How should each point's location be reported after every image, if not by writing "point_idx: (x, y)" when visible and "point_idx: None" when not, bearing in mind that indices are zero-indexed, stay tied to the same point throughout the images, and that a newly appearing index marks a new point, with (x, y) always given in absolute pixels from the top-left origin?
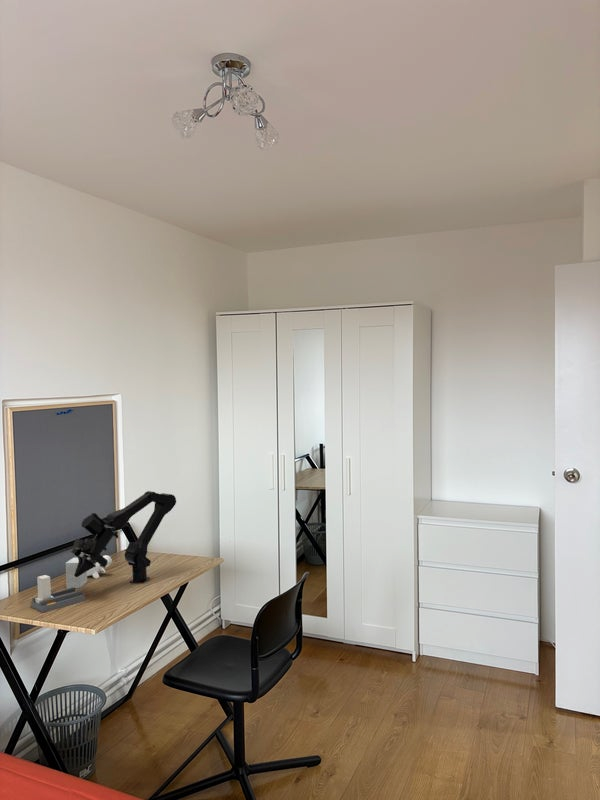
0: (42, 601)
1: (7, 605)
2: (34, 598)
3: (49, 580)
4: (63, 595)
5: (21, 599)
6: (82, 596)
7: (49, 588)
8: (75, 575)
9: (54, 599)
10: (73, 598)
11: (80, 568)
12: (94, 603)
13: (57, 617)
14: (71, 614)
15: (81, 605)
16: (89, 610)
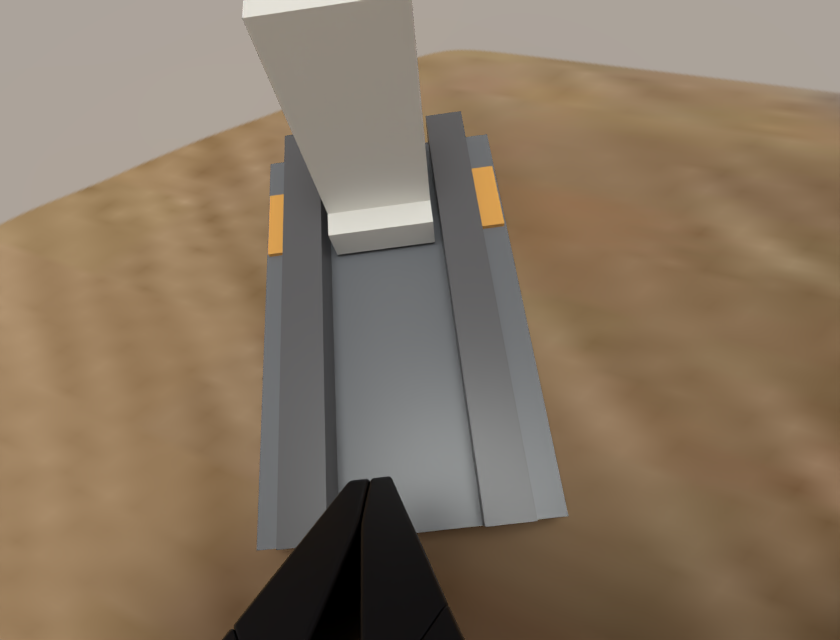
0: (292, 146)
1: (635, 72)
2: (428, 121)
3: (263, 57)
4: (299, 317)
5: (731, 157)
6: (260, 520)
7: (297, 137)
8: (345, 488)
9: (286, 236)
10: (262, 413)
11: (235, 626)
12: (117, 583)
13: (109, 233)
14: (68, 318)
15: (180, 459)
16: (5, 458)
